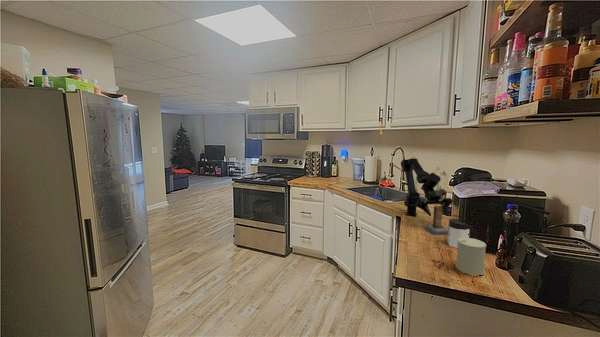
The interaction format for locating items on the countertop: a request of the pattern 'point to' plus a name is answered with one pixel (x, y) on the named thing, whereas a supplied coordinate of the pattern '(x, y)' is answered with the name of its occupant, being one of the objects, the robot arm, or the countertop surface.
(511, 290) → the countertop surface
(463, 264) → the can
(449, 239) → the jar
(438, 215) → the walnut stick
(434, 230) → the square frame on plate
